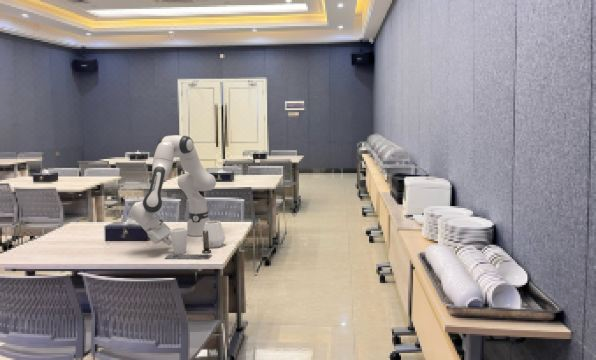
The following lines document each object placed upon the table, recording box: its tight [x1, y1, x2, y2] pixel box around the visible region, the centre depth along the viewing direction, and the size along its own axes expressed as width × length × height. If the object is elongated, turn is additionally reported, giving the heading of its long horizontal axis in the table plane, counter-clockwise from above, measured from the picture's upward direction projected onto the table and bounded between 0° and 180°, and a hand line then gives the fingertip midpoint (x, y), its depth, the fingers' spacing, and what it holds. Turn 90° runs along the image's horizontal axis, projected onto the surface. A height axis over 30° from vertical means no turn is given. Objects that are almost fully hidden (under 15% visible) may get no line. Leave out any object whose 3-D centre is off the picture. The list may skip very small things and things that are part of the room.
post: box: [201, 231, 212, 255], centre depth 288 cm, size 5×5×12 cm
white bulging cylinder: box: [201, 220, 226, 249], centre depth 303 cm, size 13×13×14 cm
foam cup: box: [169, 227, 188, 254], centre depth 290 cm, size 10×9×13 cm
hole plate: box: [164, 253, 213, 260], centre depth 280 cm, size 7×24×1 cm, turn 83°
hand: (170, 243), depth 291 cm, fingers closed, pressing on foam cup
